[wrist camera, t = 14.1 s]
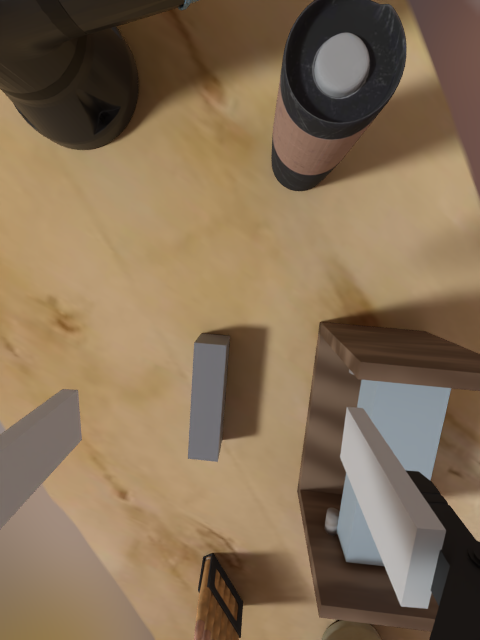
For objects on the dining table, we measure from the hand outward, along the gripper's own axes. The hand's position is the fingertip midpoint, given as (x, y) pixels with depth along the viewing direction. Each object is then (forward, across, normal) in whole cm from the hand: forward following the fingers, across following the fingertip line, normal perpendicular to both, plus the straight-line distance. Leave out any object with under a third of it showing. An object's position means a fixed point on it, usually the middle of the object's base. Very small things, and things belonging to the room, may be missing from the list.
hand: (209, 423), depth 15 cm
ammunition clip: (+27, 0, -45) cm, 52 cm away
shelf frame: (+27, +18, -14) cm, 35 cm away
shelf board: (+19, +17, -14) cm, 29 cm away
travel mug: (+29, +7, +19) cm, 35 cm away
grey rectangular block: (+28, -3, -12) cm, 30 cm away
